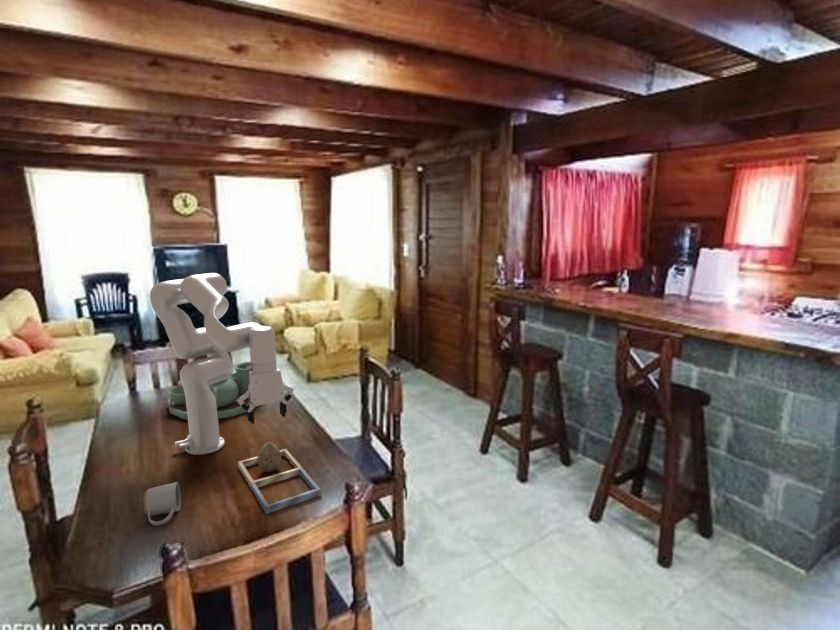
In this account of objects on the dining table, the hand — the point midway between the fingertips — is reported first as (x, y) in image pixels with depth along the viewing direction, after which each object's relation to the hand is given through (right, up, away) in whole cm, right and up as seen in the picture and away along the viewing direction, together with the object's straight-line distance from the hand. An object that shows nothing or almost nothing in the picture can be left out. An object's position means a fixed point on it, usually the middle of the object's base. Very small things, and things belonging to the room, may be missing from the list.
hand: (267, 418), depth 150 cm
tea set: (-41, -6, +60) cm, 72 cm away
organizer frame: (+4, -19, -2) cm, 19 cm away
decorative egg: (0, -18, +4) cm, 18 cm away
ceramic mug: (-22, -22, -19) cm, 37 cm away
